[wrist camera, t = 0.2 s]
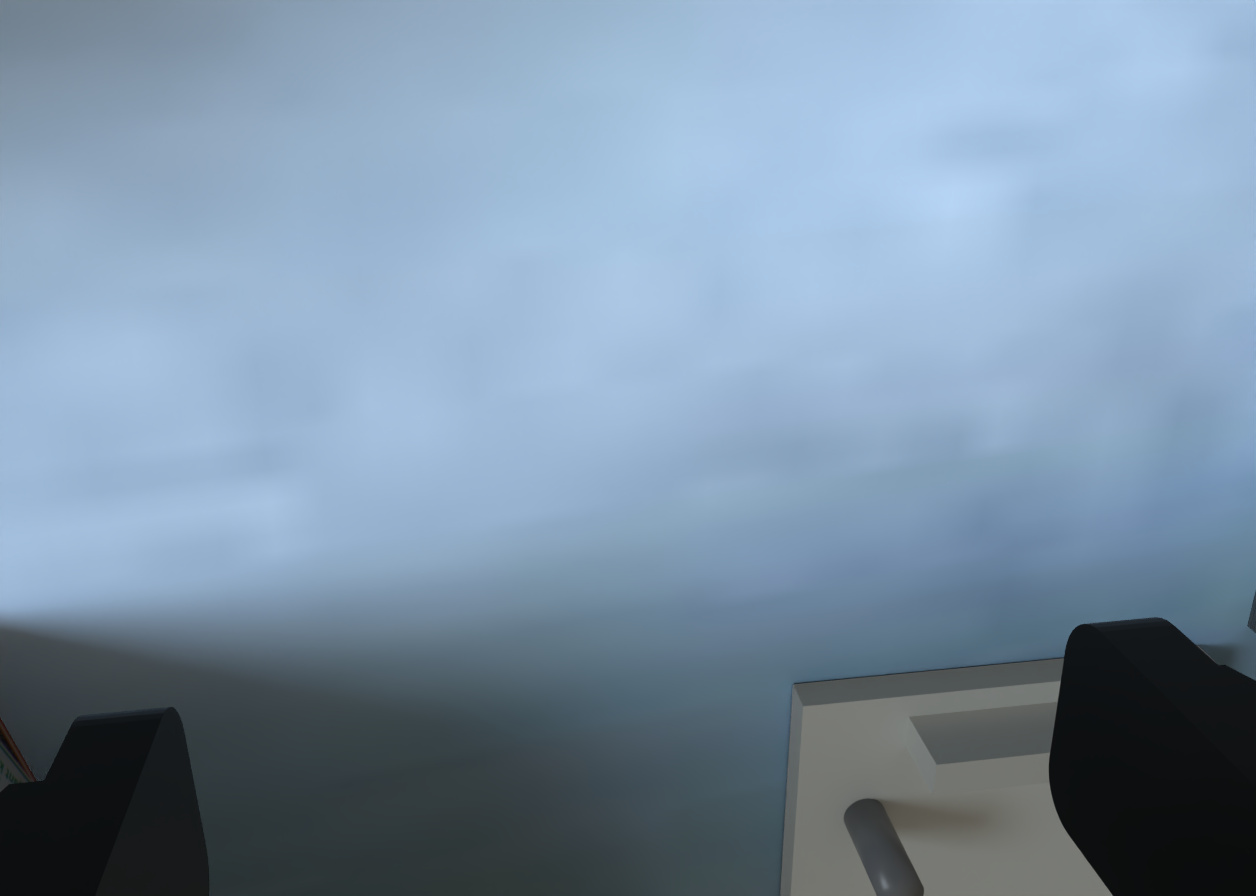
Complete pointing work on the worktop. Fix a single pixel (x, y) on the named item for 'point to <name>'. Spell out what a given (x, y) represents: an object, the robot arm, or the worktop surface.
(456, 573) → the worktop surface
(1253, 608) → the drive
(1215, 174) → the worktop surface
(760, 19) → the worktop surface
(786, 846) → the tray
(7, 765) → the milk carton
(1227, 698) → the robot arm
